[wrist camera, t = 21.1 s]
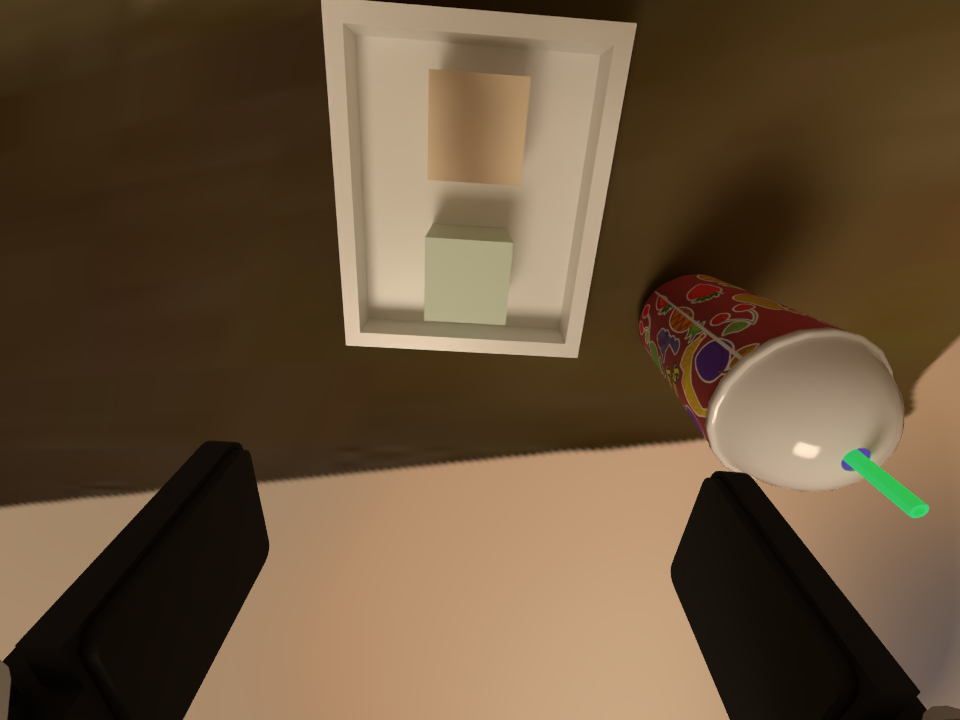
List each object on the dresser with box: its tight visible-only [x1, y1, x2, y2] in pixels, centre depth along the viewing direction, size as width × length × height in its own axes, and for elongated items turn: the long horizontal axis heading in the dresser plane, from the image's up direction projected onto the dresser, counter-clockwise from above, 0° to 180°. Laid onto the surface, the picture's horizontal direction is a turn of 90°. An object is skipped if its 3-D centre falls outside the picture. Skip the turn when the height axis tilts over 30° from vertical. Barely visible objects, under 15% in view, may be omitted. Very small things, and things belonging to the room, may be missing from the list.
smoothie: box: [639, 274, 929, 518], centre depth 24 cm, size 8×8×20 cm
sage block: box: [424, 224, 513, 325], centre depth 28 cm, size 5×5×5 cm
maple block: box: [428, 69, 531, 186], centre depth 25 cm, size 5×5×5 cm
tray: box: [321, 0, 637, 358], centre depth 28 cm, size 16×19×4 cm
